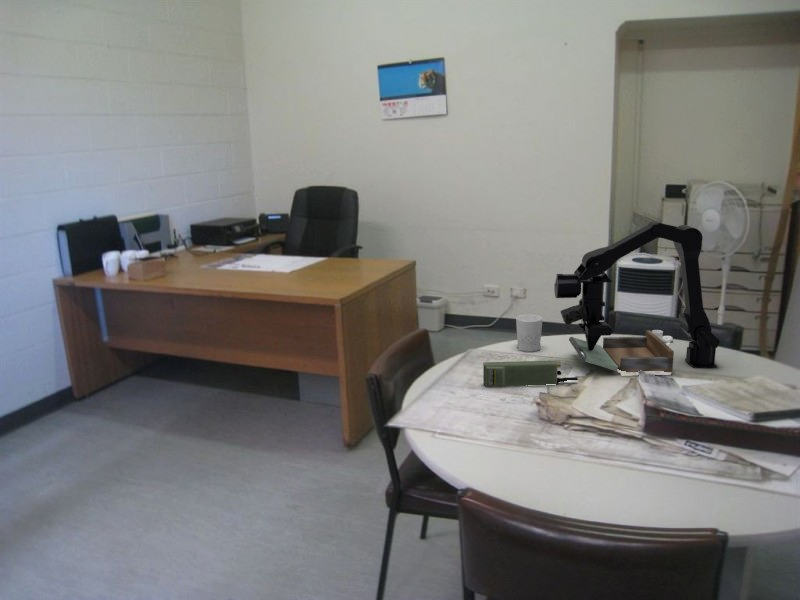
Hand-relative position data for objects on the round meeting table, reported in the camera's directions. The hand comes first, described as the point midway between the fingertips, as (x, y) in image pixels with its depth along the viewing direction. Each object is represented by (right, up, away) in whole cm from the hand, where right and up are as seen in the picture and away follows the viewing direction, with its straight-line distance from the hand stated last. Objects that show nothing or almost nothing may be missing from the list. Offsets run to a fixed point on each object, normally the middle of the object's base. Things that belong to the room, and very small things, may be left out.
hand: (590, 350), depth 178 cm
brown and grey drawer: (+13, -4, 0) cm, 14 cm away
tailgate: (+5, -2, 0) cm, 6 cm away
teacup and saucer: (+28, 0, +16) cm, 32 cm away
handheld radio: (-20, -9, -11) cm, 24 cm away
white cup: (-14, -1, +16) cm, 22 cm away
